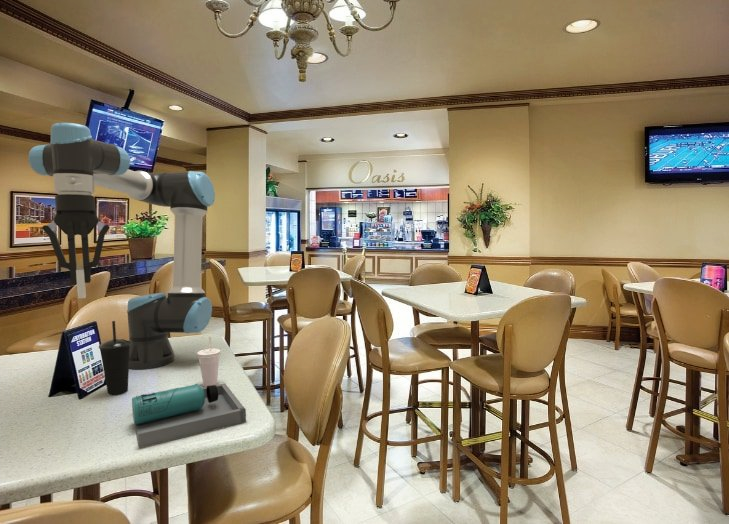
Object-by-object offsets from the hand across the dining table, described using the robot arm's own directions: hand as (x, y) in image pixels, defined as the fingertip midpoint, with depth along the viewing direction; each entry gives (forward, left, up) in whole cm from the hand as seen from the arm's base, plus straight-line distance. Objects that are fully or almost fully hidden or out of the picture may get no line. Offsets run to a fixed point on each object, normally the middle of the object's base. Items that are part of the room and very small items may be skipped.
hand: (82, 297), depth 99 cm
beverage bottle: (+10, +7, -26) cm, 28 cm away
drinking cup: (-17, +6, -30) cm, 35 cm away
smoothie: (-9, +29, -30) cm, 42 cm away
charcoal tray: (+11, +20, -29) cm, 37 cm away
